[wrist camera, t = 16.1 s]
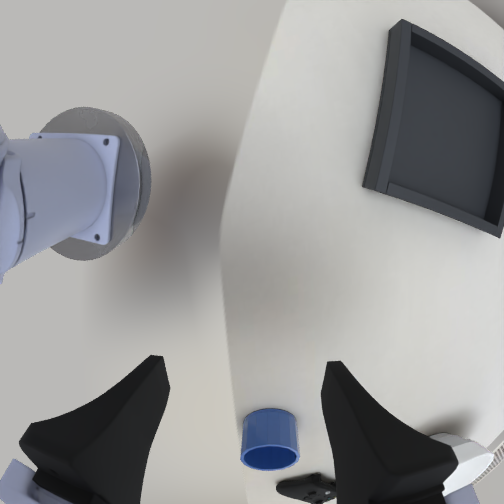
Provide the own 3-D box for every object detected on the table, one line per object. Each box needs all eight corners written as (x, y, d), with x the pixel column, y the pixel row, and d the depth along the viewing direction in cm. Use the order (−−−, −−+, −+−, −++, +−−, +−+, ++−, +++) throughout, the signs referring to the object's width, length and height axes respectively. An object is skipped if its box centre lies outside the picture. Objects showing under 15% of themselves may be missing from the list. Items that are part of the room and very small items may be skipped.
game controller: (270, 488, 29) (296, 505, 24) (290, 460, 32) (318, 473, 27) (310, 501, 31) (335, 514, 26) (327, 476, 34) (354, 487, 29)
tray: (361, 186, 18) (374, 190, 16) (388, 29, 14) (401, 18, 12) (483, 230, 18) (500, 238, 16) (504, 98, 14) (521, 96, 12)
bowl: (491, 413, 27) (512, 446, 19) (415, 481, 32) (425, 513, 25) (422, 407, 25) (447, 460, 17) (332, 484, 31) (338, 528, 23)
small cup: (234, 429, 26) (231, 463, 22) (258, 402, 24) (257, 439, 20) (279, 442, 27) (280, 474, 22) (306, 416, 25) (311, 451, 21)
